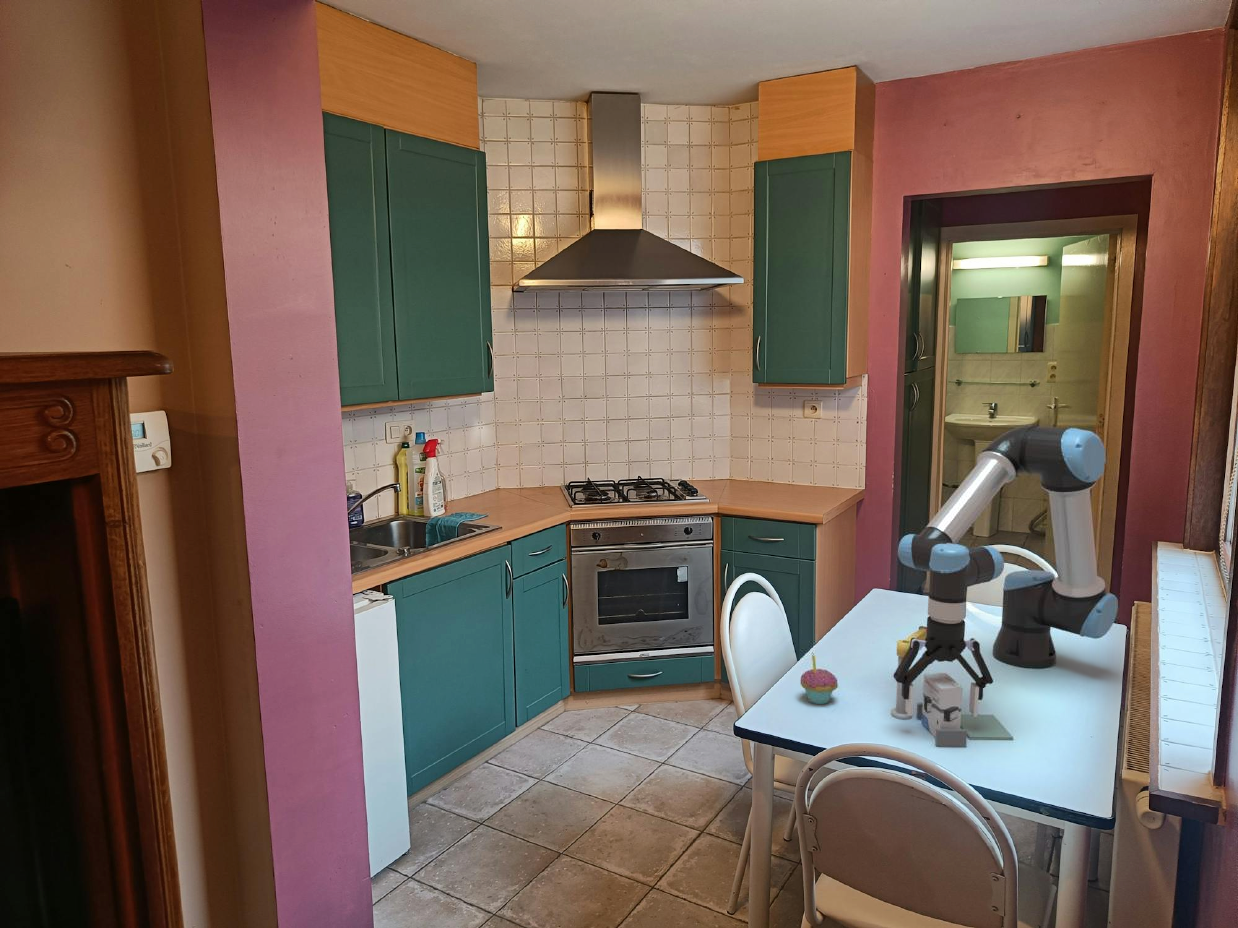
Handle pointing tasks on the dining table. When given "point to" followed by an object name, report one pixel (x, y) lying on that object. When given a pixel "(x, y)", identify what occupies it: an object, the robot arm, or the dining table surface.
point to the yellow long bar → (905, 644)
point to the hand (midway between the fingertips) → (940, 713)
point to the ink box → (941, 702)
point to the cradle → (942, 735)
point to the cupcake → (818, 684)
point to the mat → (984, 728)
